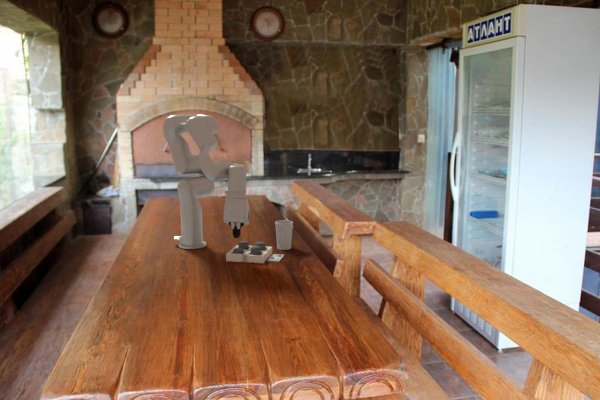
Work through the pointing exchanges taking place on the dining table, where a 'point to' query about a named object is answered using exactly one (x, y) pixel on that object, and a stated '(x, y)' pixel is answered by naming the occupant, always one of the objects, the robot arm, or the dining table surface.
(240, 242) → the button
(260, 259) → the board
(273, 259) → the card
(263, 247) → the button
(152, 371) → the dining table surface
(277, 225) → the cup
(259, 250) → the button camera
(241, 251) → the camera button
